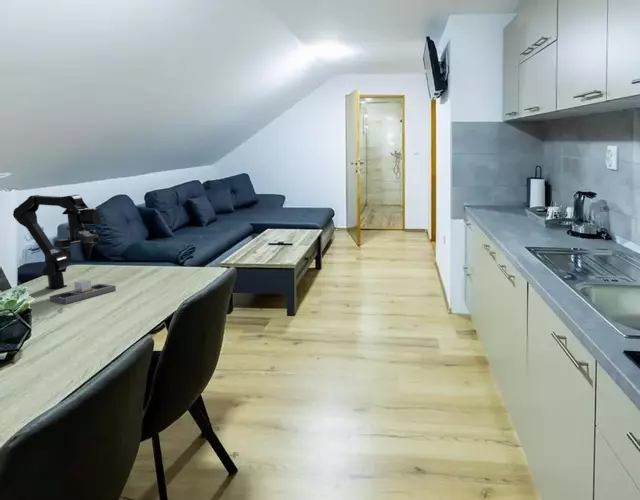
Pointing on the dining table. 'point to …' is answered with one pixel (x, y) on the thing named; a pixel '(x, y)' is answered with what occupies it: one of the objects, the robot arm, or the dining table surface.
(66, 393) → the dining table surface
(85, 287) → the steel block
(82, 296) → the grey slotted frame
